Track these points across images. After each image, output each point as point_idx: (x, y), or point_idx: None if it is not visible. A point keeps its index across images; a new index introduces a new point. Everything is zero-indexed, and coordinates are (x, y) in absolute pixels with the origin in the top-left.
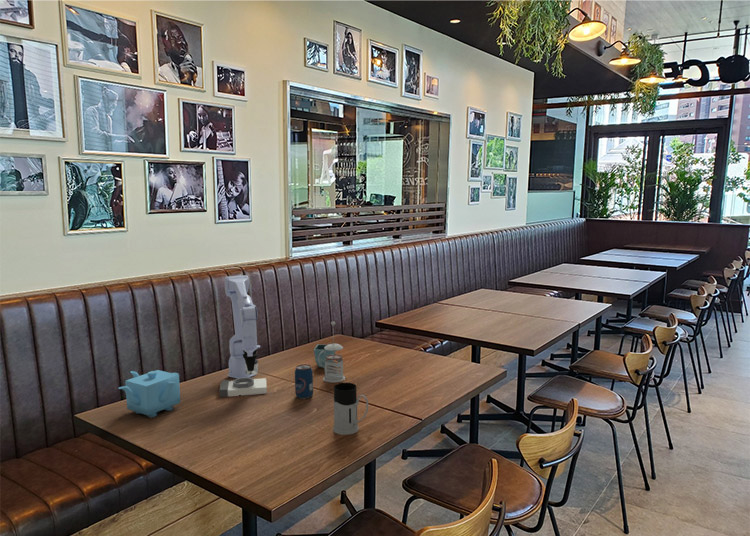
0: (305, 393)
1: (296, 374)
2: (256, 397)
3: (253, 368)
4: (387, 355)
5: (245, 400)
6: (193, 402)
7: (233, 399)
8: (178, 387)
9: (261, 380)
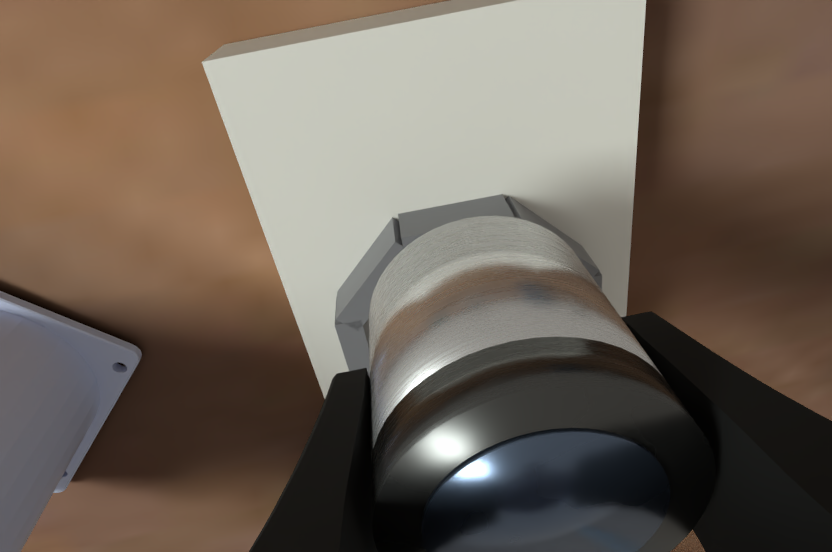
0: None
1: None
2: (709, 91)
3: (686, 339)
4: None
5: (754, 196)
6: None
7: (682, 307)
8: None
9: (322, 119)
